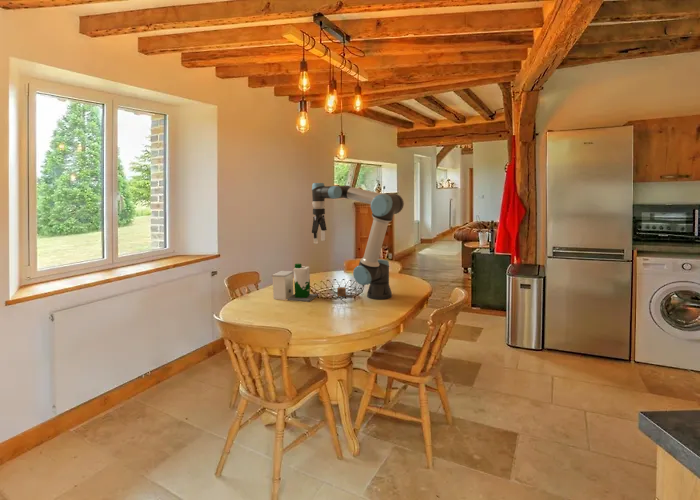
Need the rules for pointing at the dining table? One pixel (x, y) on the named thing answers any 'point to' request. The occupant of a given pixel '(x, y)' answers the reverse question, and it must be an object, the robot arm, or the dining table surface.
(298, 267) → the soya milk
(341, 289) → the walnut block
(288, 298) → the pad
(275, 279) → the dispenser unit
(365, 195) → the robot arm
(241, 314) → the dining table surface
